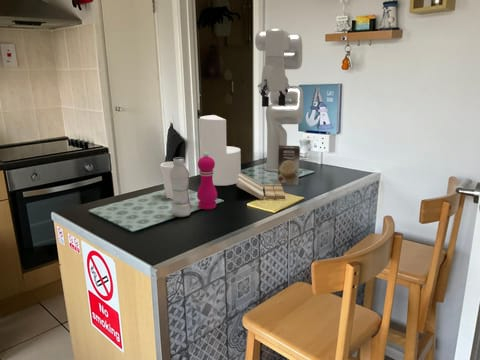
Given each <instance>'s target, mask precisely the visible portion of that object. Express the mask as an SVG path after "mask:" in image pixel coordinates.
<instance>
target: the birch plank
mask: <svg viewBox="0 0 480 360" xmlns="http://www.w3.org/2000/svg"><path fill="white" fill-rule="evenodd" d="M236 187H238V188H239V189H241V190H243V191H245V192H247V193H249V194H250V195H252V196H255V198H258V199H260V200H261V201H262V200H263V199H264V197H265V192H264V185H263V184H262V183H261V182H258V181H257V180H255V179H253V178H252V177H249V176H247V175H246V174H244V173H242V171H241V172H239V173H238V175H237V183H236Z"/></svg>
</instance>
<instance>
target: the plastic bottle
mask: <svg viewBox="0 0 480 360" xmlns="http://www.w3.org/2000/svg"><path fill="white" fill-rule="evenodd" d="M172 160H173V161H172V162H173V164H174V166H173V168H172V169H171V171H170V180H171V185H172V193H173V197H172V199H171V201H172V202H171V213H172V214H173V216H174V217H177V218H184V217H188V216H190V215H191V212H192V206H191V205H192V204H191V202H190V201H191V200H190V195H189V185H190V184H189V183H190V171H189V170H188V168H187V167H186V161H185V157H183V156H178V157H176V156H175V157H173V159H172ZM184 164H185V166H184Z"/></svg>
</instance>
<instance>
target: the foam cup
mask: <svg viewBox="0 0 480 360" xmlns="http://www.w3.org/2000/svg"><path fill="white" fill-rule="evenodd" d="M173 166H174V164H173V161H165V162H162V163H160V166H159V167H160V168H159V169H160V173H161V178H162V182H163V187H164V193H165V197H166V198H167V199H168V198H170V199H169V200H172V197H173V193H172V185H171V180H170V171H171V169H172V168H173ZM184 166H185V167H186V163H185V164H184Z"/></svg>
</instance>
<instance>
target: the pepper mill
mask: <svg viewBox="0 0 480 360" xmlns="http://www.w3.org/2000/svg"><path fill="white" fill-rule="evenodd" d="M203 156H204V157H202V158H201V157H200V158H199V159H198V162H197V168H198V169H199V176H200V185H199V187H198V190H197V193H196V196H197V197H196V198H197V199H198V200H199V202H198V208H199V209H202V210H212V209H215V208H216V207H217V201H216V199H217V198H218V192H217V189H216V187H215V185H214V184H213V180H212V176H213V174H214V173H213V172H214V171H213V168H214V167H215V162H214V160H213V159H212V158H211V157H208V156H209V155H208V153H204V155H203Z"/></svg>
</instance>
